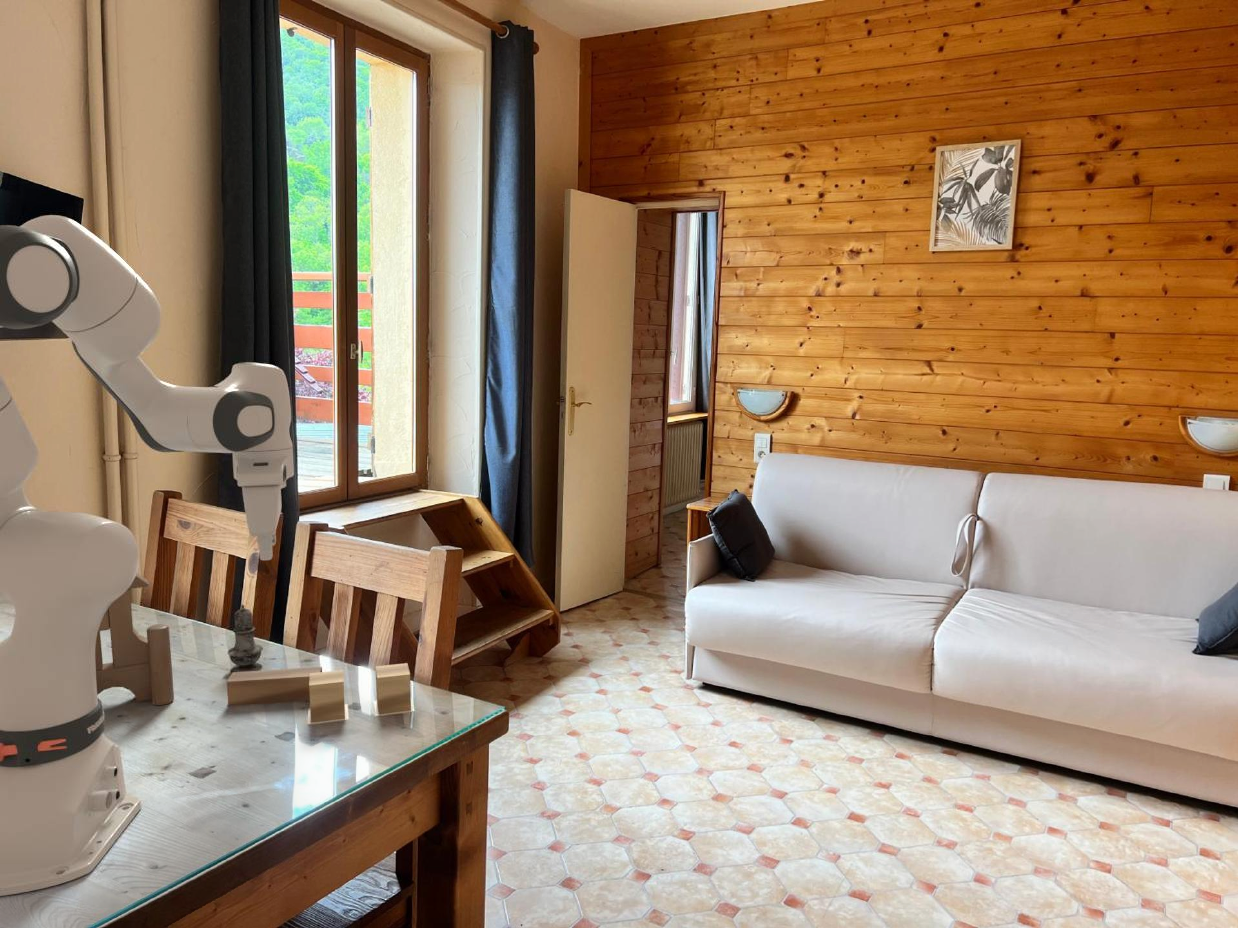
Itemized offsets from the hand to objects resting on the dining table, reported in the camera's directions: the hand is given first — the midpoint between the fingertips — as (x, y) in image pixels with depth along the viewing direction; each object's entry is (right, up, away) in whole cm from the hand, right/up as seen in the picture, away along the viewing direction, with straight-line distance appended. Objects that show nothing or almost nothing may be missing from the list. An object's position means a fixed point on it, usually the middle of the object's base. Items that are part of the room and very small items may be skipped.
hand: (268, 552), depth 141 cm
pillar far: (+20, -25, +1) cm, 32 cm away
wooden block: (0, -25, +4) cm, 25 cm away
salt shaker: (-11, -23, +18) cm, 31 cm away
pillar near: (+10, -25, -2) cm, 27 cm away
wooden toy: (-25, -25, +2) cm, 35 cm away
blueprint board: (+15, -26, -1) cm, 30 cm away
